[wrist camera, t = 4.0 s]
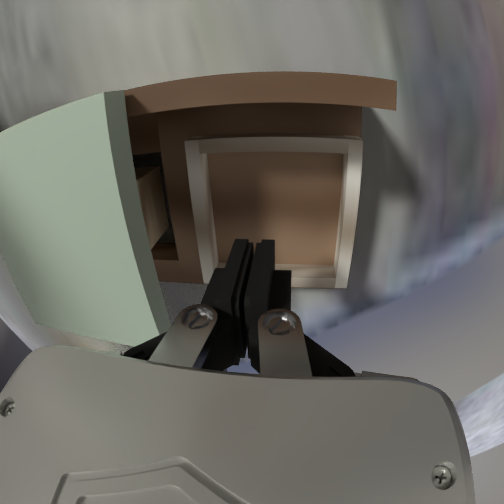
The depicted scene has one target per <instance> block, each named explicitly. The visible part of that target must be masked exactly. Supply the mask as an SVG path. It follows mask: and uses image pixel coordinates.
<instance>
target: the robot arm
mask: <svg viewBox="0 0 504 504" xmlns="http://www.w3.org/2000/svg"><path fill="white" fill-rule="evenodd" d="M291 276H292V270H275V240H271V239H262V241H261V243H256V248H255V252H254V246H253V242H249V240H248V239H235V240H234V243H233V246H232V249H231V252H230V254H229V257H228V260H227V263H226V266H225V268H215V269H214V271H213V274H212V276H211V279H210V281H209V284H208V286H207V289H206V292H205V294H204V297H203V299H202V302H201V304H197V305H192V306H189V307H187V308H185V309H183V310H182V311H181V312H180V313H179V315H178V316H177V318H176V319H175V321H174V322H173V324H172V325H171V327H170V328H169V330H168V331H167V332H165V333H163V334H161V335H158V336H156V337H154V338H152V339H150V340H148V341H146V342H144V343H142V344H139V345H137V346H135V347H133V348H131V349H129V350H128V351H126V352H125V353H124V354H122V352H121V351H96V350H91V349H86V348H81V347H74V346H61V345H55V346H47V347H43V348H39V349H36V350H34V351H33V352H31V353H30V354H29V355H28V356H27V357H26V358H25V359H24V360H23V362H22V363H21V364H20V366H19V367H18V368H17V369H16V371H15V372H14V374H13V375H12V376H11V378H10V379H9V381H8V383H7V384H6V386H5V388H4V389H3V391H2V392H1V394H0V504H475V493H474V483H473V475H472V468H471V461H470V455H469V450H468V446H467V442H466V438H465V434H464V430H463V427H462V424H461V421H460V418H459V416H458V413H457V411H456V408H455V406H454V405H453V403H452V401H451V400H450V398H449V397H448V396H447V395H446V394H445V393H444V392H443V391H442V390H440V389H439V388H436V387H434V386H432V385H430V384H427V383H423V382H420V381H418V380H417V379H414V378H410V377H402V376H394V375H387V374H380V373H373V372H366V371H362V373H361V374H360V373H354V372H353V370H352V369H351V368H350V367H349V366H347V365H346V364H344V363H343V362H342V361H340V360H339V359H338V358H336V357H335V356H334V355H332V354H331V353H329V352H328V351H326V350H325V349H324V348H323V347H321V346H320V345H318V344H317V343H316V342H314V341H313V340H312V339H310V338H309V337H308V336H306V335H305V334H304V333H303V329H302V324H301V321H300V318H299V317H298V316H297V315H296V314H295V313H294V312H292V311H291ZM247 348H248V358H250V359H251V366H252V367H253V368H254V369H255V370H257V372H258V373H259V374H248V373H235V372H227V368H228V367H230V366H232V365H239V361H240V358H245V354H246V349H247Z"/></svg>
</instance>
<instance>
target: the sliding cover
mask: <svg viewBox="0 0 504 504" xmlns="http://www.w3.org/2000/svg"><path fill="white" fill-rule="evenodd" d="M0 251H1V254H2V256H3V258H4V261H5V263H6V265H7V268H8V270H9V272H10V274H11V276H12V279H13V281H14V283H15V285H16V287H17V289H18V291H19V293H20V295H21V297H22V299H23V301H24V303H25V305H26V306H27V308H28V310H29V312H30V314H31V316H32V317H33V319H34V321H35V323H37V324H40V325H43V326H47V327H51V328H54V329H58V330H62V331H65V332H69V333H73V334H77V335H82V336H86V337H90V338H95V339H99V340H104V341H109V342H113V343H118V344H123V345H129V346H134V347H135V346H137V345H139V344H142V343H144V342H146V341H148V340H150V339H152V338H154V337H156V336H158V335H161V334H163V333H165V332H167V331H168V330H169V328H170V327H171V322H170V319H169V315H168V312H167V309H166V305H165V302H164V298H163V295H162V291H161V287H160V284H159V280H158V276H157V272H156V269H155V265H154V261H153V257H152V253H151V248H150V244H149V240H148V235H147V231H146V227H145V222H144V217H143V212H142V208H141V203H140V197H139V192H138V187H137V181H136V176H135V170H134V164H133V157H132V151H131V144H130V137H129V129H128V122H127V113H126V104H125V94H124V90H120V91H111V92H103V93H100V94H96V95H93V96H90V97H87V98H83V99H80V100H77V101H74V102H71V103H68V104H66V105H63V106H60V107H57V108H55V109H52V110H49V111H47V112H44V113H42V114H39V115H37V116H34V117H32V118H30V119H27V120H25V121H23V122H21V123H19V124H16V125H14V126H12V127H10V128H8V129H6V130H4V131H2V132H0Z"/></svg>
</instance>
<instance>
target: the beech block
mask: <svg viewBox="0 0 504 504" xmlns="http://www.w3.org/2000/svg"><path fill="white" fill-rule="evenodd" d="M134 170H135V176H136V181H137V187H138V192H139V197H140V203H141V208H142V212H143V217H144V222H145V227H146V231H147V235H148V240H149V244H150V248H151V249H152V248H153V246H154V245H155V244H156V242H157V241H158V240H159V239H160V237H161V236H162V235H163V234H164V232H165V231H166V230H167V229H168V227H169V223H168V218H167V212H166V206H165V200H164V194H163V188H162V182H161V175H160V168H159V166H150V167H140V168H134Z"/></svg>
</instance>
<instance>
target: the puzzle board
mask: <svg viewBox="0 0 504 504" xmlns="http://www.w3.org/2000/svg"><path fill="white" fill-rule="evenodd" d="M124 94H125V104H126V113H127V122H128V129H129V137H130V144H131V151H132V155H139V154H147V153H156V152H161V156H162V163H163V170H164V177H165V184H166V191H167V197H168V203H169V209H170V215H171V221H172V226H173V232H174V237H175V243H156V244H155V245H154V246H153V248H152V249H151V253H152V257H153V261H154V265H155V269H156V272H157V276H158V280H159V281H166V282H182V283H198V284H209V281H210V279H211V276H212V274H213V271H214V269H215V268H225V266H226V263H227V260H228V257H229V254H230V252H231V249H232V246H233V243H234V240H235V239H248V240H249V242H253V246H254V252H255V248H256V243H261V241H262V239H271V240H275V270H292V276H291V288H333V289H344V288H347V282H348V276H349V270H350V264H351V257H352V251H353V244H354V237H355V229H356V221H357V213H358V204H359V194H360V183H361V171H362V158H363V140H362V139H361V117H362V106H363V107H372V108H381V109H388V110H395V111H396V97H397V81H394V80H388V79H381V78H374V77H366V76H358V75H348V74H336V73H320V72H250V73H234V74H222V75H212V76H203V77H195V78H187V79H181V80H174V81H168V82H163V83H157V84H152V85H147V86H142V87H137V88H133V89H129V90H124Z"/></svg>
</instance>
